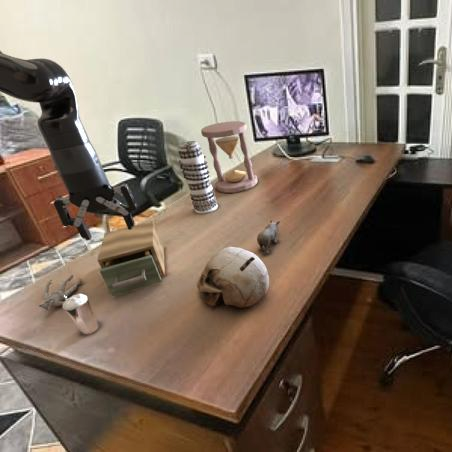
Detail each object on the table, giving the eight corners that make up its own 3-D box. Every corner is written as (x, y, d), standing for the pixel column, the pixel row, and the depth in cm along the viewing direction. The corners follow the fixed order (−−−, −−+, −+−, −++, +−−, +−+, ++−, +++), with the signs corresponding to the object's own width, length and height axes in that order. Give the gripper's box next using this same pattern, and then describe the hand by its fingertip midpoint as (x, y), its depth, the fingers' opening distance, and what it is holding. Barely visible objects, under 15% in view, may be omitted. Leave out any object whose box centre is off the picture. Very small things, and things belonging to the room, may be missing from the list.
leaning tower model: (193, 206, 135) (174, 142, 123) (218, 201, 137) (201, 137, 125) (193, 215, 127) (172, 148, 115) (219, 210, 129) (201, 144, 117)
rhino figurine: (286, 231, 111) (283, 214, 108) (269, 255, 100) (265, 237, 97) (274, 230, 112) (270, 214, 109) (256, 254, 101) (252, 236, 98)
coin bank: (202, 281, 91) (193, 237, 84) (269, 275, 94) (266, 233, 87) (192, 325, 78) (181, 278, 71) (271, 317, 81) (267, 271, 74)
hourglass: (264, 177, 156) (253, 120, 144) (246, 193, 141) (232, 131, 129) (229, 177, 160) (215, 121, 148) (208, 192, 146) (191, 132, 133)
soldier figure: (93, 285, 96) (69, 302, 84) (83, 299, 96) (57, 318, 84) (65, 270, 94) (37, 284, 82) (55, 284, 94) (25, 301, 82)
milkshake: (90, 319, 82) (70, 286, 77) (106, 323, 80) (88, 289, 75) (71, 333, 78) (50, 299, 74) (88, 338, 77) (68, 303, 72)
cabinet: (164, 275, 95) (152, 245, 91) (112, 291, 91) (97, 260, 86) (163, 248, 108) (153, 221, 103) (117, 261, 104) (104, 232, 99)
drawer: (162, 291, 88) (151, 266, 84) (110, 307, 84) (96, 281, 80) (160, 255, 103) (151, 232, 99) (117, 267, 99) (106, 243, 95)
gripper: (119, 154, 77) (144, 218, 85) (43, 168, 73) (77, 234, 81) (115, 163, 71) (143, 231, 79) (33, 179, 67) (71, 250, 75)
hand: (110, 233), depth 80 cm, fingers open, 8 cm apart
